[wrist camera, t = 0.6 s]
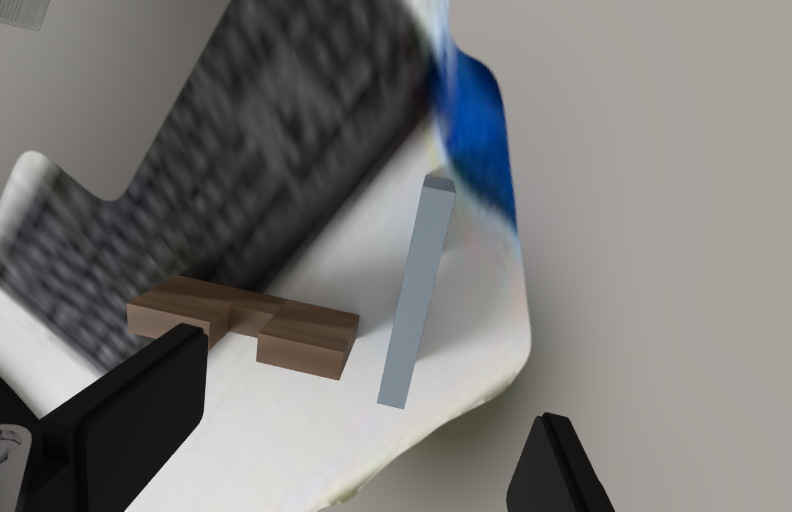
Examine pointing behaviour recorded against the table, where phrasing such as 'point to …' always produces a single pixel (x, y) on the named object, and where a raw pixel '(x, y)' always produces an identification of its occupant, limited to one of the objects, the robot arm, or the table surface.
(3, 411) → the docking station
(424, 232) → the plain gray rectangular bar
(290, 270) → the table surface
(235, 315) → the slotted board
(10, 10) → the small box
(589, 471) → the robot arm
